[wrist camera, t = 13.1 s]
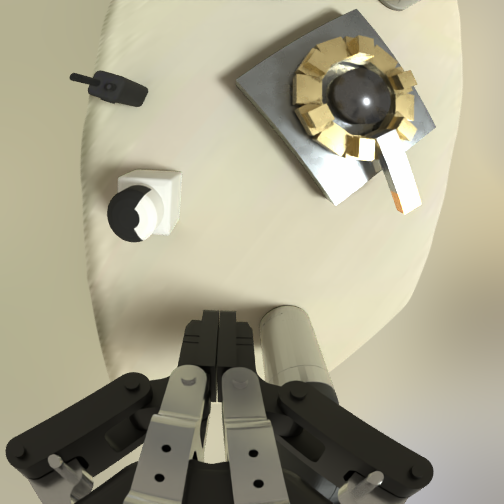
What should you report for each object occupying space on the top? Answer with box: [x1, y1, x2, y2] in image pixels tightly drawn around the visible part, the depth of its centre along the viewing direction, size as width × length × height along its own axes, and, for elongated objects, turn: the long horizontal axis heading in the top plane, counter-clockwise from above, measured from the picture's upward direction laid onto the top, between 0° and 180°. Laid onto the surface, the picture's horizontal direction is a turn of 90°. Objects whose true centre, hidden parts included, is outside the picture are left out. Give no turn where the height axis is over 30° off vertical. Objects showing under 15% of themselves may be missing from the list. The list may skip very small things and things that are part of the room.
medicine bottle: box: [107, 169, 182, 242], centre depth 33 cm, size 7×7×12 cm
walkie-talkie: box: [70, 71, 148, 107], centre depth 26 cm, size 5×3×15 cm
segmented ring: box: [293, 35, 421, 214], centre depth 29 cm, size 16×24×4 cm
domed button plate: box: [236, 9, 436, 206], centre depth 31 cm, size 21×21×8 cm
